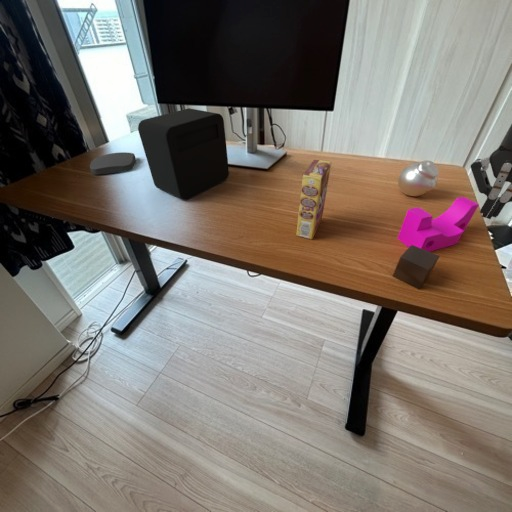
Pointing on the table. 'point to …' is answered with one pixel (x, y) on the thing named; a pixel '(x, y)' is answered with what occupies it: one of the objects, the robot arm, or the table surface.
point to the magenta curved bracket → (437, 226)
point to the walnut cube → (415, 266)
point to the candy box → (312, 198)
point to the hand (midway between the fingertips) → (487, 216)
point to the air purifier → (185, 151)
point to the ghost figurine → (418, 178)
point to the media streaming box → (113, 163)
